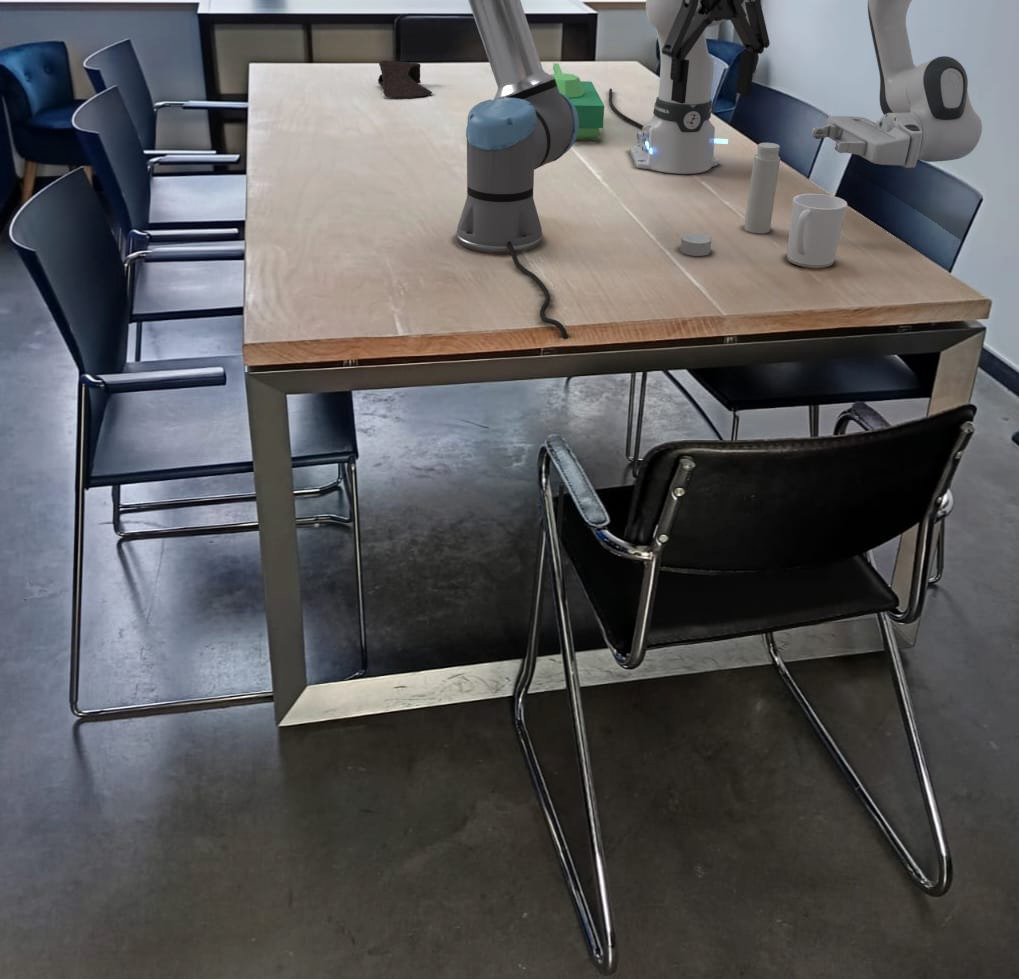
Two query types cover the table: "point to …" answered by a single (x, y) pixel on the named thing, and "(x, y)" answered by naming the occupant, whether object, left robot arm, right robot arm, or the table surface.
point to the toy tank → (582, 103)
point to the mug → (815, 229)
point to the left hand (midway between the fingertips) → (711, 98)
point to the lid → (695, 244)
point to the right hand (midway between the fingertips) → (825, 139)
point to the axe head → (401, 79)
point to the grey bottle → (762, 188)
